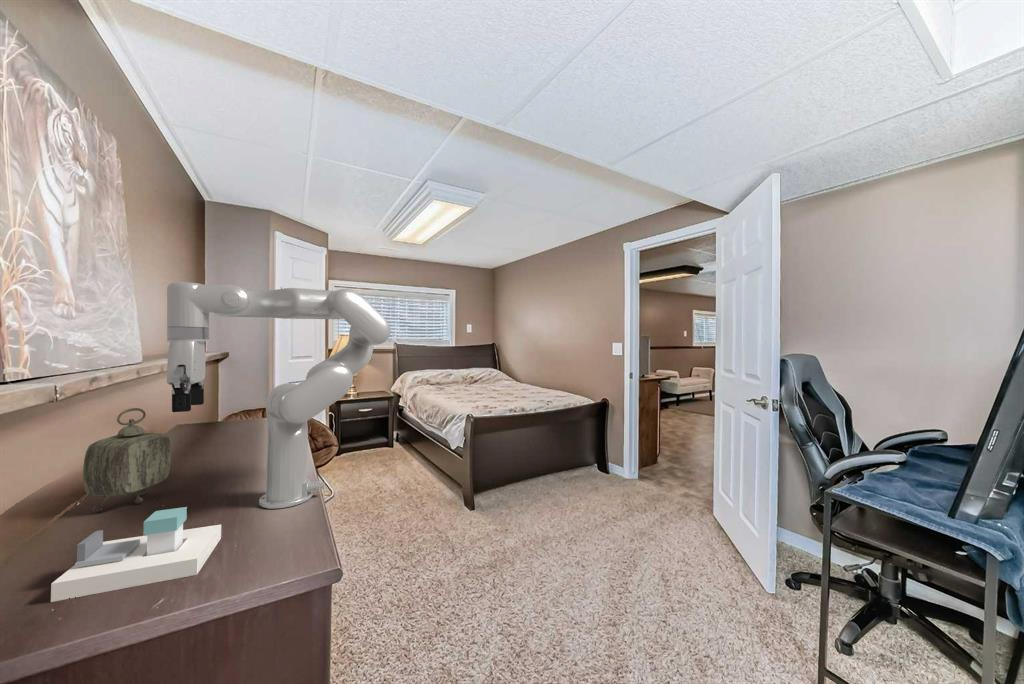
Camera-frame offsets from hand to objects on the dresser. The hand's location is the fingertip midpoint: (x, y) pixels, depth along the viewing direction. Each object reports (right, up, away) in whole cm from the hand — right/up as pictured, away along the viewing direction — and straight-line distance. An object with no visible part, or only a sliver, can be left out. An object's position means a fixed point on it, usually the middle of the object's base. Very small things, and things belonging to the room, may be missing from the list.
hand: (188, 408), depth 87 cm
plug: (+9, -27, -16) cm, 33 cm away
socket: (+7, -27, -17) cm, 32 cm away
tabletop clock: (-24, -27, +10) cm, 38 cm away
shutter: (+2, -24, -19) cm, 30 cm away
